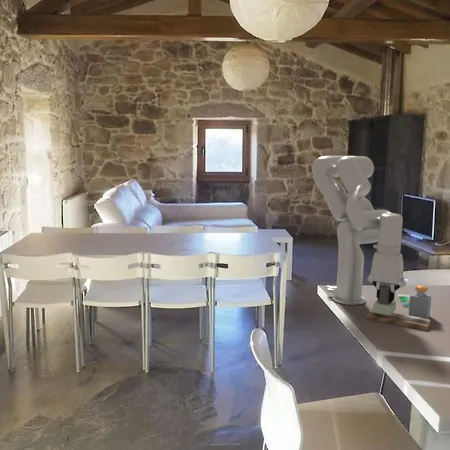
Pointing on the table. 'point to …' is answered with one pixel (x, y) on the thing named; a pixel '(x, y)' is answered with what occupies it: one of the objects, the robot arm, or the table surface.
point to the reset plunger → (421, 290)
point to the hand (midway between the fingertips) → (385, 300)
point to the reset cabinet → (420, 305)
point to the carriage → (384, 302)
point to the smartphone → (404, 299)
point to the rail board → (401, 320)
